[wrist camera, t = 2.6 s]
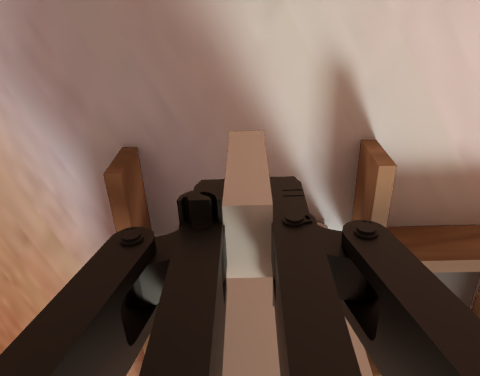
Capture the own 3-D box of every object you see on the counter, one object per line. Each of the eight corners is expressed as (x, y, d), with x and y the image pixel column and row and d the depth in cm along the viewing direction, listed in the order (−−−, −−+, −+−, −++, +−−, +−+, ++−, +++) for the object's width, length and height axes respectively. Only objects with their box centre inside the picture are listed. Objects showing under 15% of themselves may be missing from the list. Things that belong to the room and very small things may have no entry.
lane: (122, 147, 27) (103, 174, 23) (545, 134, 26) (593, 160, 22) (185, 474, 46) (180, 515, 43) (426, 472, 46) (441, 514, 42)
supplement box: (215, 185, 28) (188, 373, 15) (329, 222, 29) (398, 425, 16) (179, 277, 32) (133, 489, 19) (281, 306, 33) (304, 522, 20)
